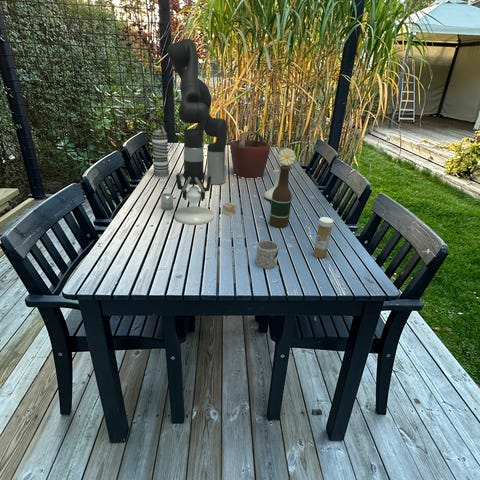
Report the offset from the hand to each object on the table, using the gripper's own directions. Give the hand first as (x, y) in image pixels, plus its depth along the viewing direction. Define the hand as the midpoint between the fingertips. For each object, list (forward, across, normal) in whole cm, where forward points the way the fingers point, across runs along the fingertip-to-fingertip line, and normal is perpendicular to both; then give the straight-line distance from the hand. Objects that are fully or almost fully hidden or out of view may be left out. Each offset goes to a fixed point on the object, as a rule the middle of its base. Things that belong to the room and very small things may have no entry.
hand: (193, 199), depth 136 cm
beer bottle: (+8, +35, -2) cm, 36 cm away
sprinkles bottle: (+8, +47, -27) cm, 55 cm away
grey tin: (+8, -13, +8) cm, 17 cm away
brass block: (+8, +14, +6) cm, 17 cm away
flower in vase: (+8, +37, +28) cm, 47 cm away
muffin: (+1, 0, 0) cm, 1 cm away
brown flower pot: (+8, +22, +68) cm, 72 cm away
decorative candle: (+8, -26, +55) cm, 61 cm away
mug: (+8, +28, -33) cm, 44 cm away
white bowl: (+8, 0, 0) cm, 8 cm away
